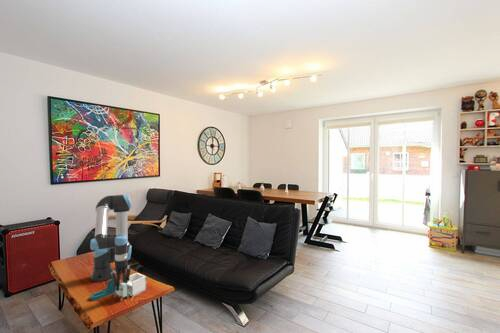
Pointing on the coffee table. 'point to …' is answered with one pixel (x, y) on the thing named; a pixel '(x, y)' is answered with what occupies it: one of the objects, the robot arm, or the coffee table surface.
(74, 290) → the coffee table surface
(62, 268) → the coffee table surface
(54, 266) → the coffee table surface
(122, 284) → the door
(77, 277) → the coffee table surface
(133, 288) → the cabinet
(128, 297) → the small parts
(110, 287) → the bracket
